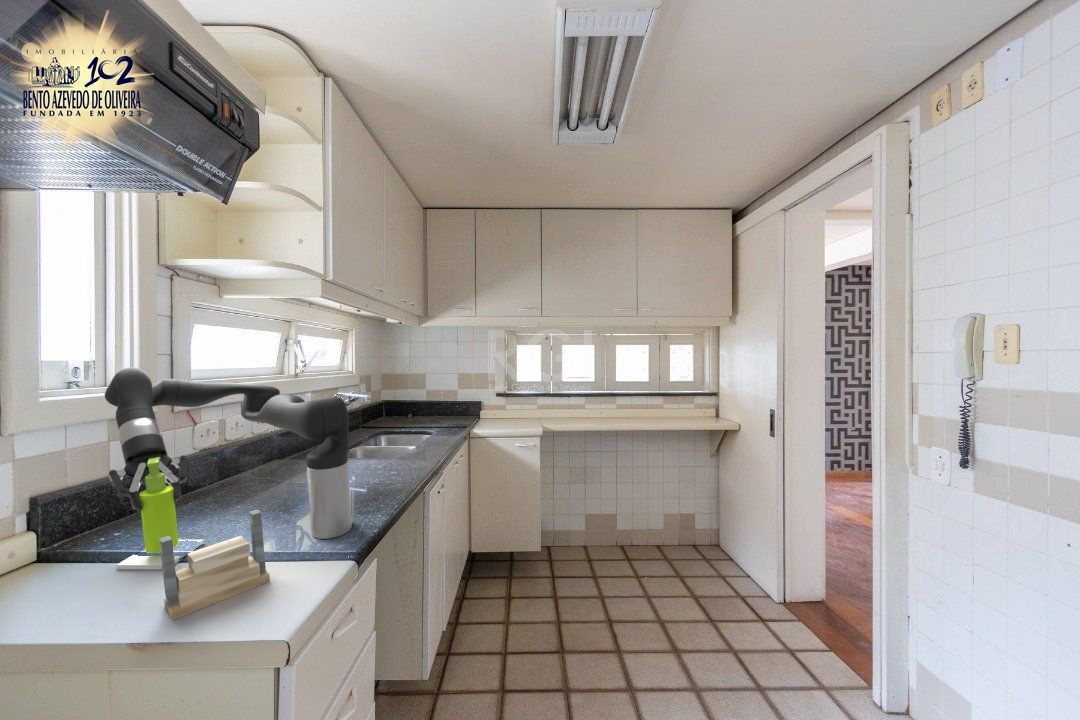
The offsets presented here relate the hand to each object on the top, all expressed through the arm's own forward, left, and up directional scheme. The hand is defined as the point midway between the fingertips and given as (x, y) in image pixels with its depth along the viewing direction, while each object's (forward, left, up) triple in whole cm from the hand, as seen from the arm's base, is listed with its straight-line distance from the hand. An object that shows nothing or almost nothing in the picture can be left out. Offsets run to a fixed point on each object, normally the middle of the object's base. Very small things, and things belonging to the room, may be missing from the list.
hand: (158, 504), depth 104 cm
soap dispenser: (-1, -1, -10) cm, 11 cm away
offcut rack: (+13, +22, -13) cm, 28 cm away
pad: (-1, -1, -13) cm, 13 cm away
